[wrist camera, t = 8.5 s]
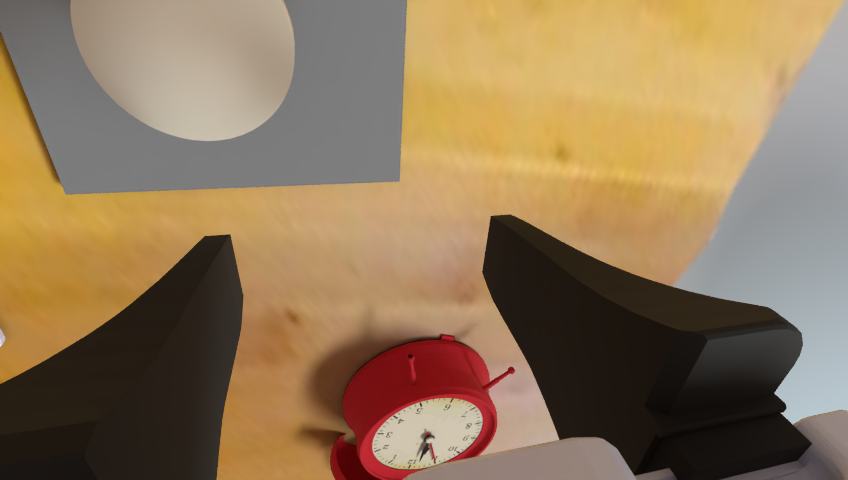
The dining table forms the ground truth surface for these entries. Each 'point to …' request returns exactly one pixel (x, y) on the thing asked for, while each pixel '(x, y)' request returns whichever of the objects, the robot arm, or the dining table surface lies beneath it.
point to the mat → (240, 156)
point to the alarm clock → (416, 411)
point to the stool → (189, 61)
